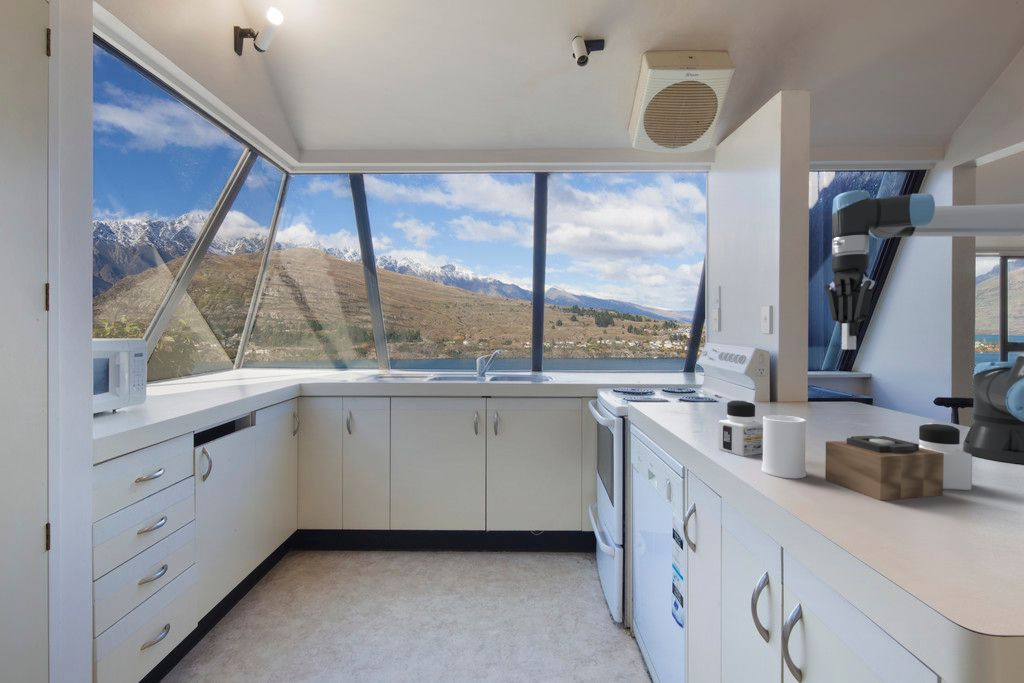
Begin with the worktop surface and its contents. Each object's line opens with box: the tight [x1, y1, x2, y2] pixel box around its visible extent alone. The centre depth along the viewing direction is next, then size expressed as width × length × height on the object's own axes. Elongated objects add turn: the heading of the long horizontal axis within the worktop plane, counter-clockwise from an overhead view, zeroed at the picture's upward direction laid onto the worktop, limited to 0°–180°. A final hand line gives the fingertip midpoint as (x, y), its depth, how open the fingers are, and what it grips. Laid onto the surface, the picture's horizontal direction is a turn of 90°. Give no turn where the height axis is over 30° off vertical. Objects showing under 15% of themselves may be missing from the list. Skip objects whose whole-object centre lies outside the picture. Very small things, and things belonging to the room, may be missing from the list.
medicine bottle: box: [918, 422, 973, 491], centre depth 94 cm, size 7×7×12 cm
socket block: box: [824, 435, 944, 501], centre depth 92 cm, size 14×12×9 cm
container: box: [717, 399, 763, 457], centre depth 120 cm, size 8×8×13 cm
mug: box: [761, 414, 807, 480], centre depth 104 cm, size 12×8×12 cm
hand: (848, 349), depth 117 cm, fingers closed
